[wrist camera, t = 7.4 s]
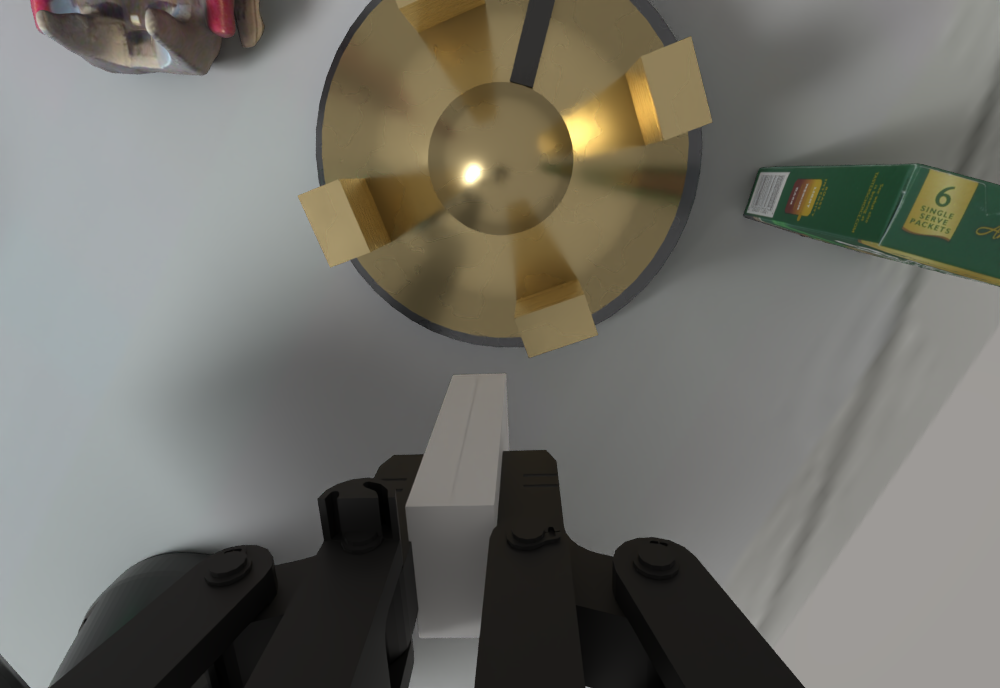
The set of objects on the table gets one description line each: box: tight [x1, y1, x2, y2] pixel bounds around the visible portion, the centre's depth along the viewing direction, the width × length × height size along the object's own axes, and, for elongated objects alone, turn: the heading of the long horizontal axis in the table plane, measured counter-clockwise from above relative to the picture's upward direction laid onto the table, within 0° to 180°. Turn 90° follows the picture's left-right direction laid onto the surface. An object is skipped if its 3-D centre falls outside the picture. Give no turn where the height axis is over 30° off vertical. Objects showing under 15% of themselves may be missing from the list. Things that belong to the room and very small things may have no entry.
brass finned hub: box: [298, 0, 712, 358], centre depth 24 cm, size 16×16×6 cm
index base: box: [316, 0, 702, 347], centre depth 27 cm, size 19×19×5 cm
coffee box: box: [743, 164, 1000, 287], centre depth 23 cm, size 8×3×13 cm, turn 75°
